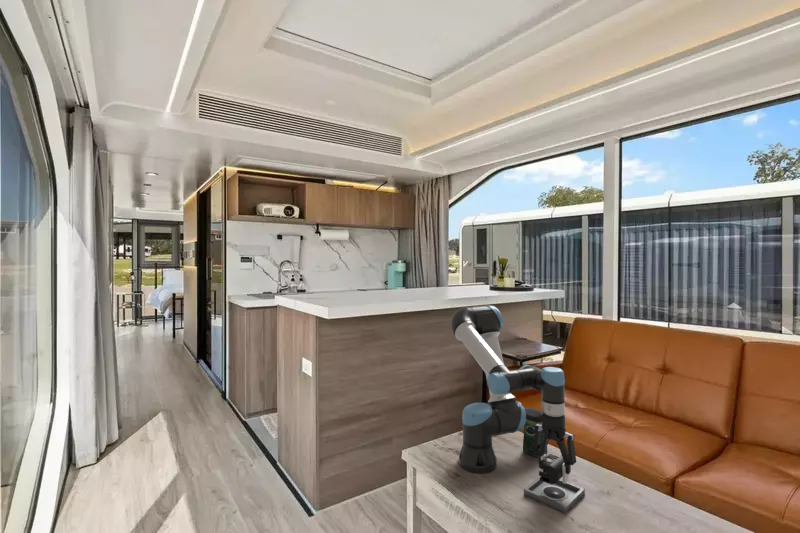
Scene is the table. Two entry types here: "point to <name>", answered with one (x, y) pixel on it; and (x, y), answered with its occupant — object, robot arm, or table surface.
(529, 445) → the coffee jar
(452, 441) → the table surface
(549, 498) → the grey square tray
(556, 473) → the end cap
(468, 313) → the robot arm
